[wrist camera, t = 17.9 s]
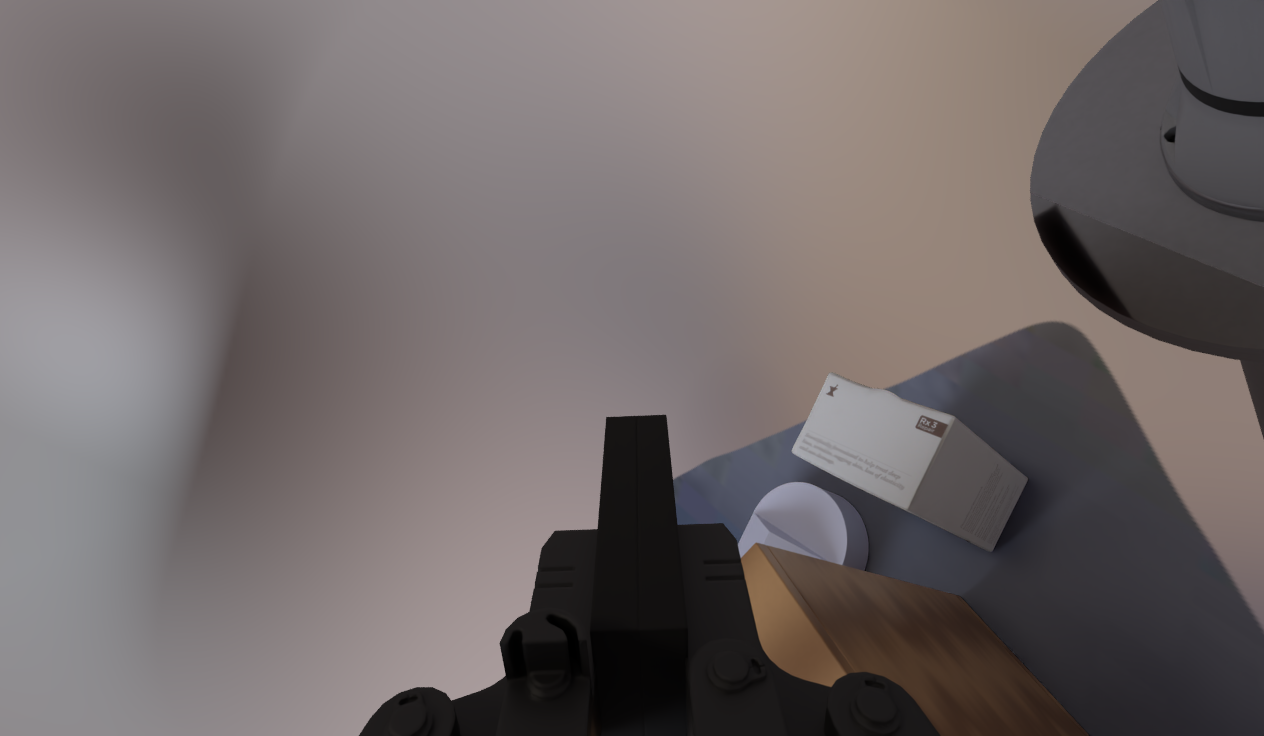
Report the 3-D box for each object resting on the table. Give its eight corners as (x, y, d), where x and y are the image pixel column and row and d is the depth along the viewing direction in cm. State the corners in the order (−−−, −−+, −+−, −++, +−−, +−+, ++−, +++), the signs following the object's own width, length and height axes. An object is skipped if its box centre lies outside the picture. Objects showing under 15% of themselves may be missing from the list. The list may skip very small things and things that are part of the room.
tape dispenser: (814, 673, 47) (888, 522, 47) (763, 671, 43) (844, 505, 43) (734, 605, 54) (798, 473, 54) (684, 598, 50) (753, 455, 50)
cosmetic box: (889, 501, 47) (780, 454, 38) (923, 431, 47) (822, 367, 38) (1000, 557, 41) (902, 516, 32) (1040, 475, 41) (952, 411, 32)
